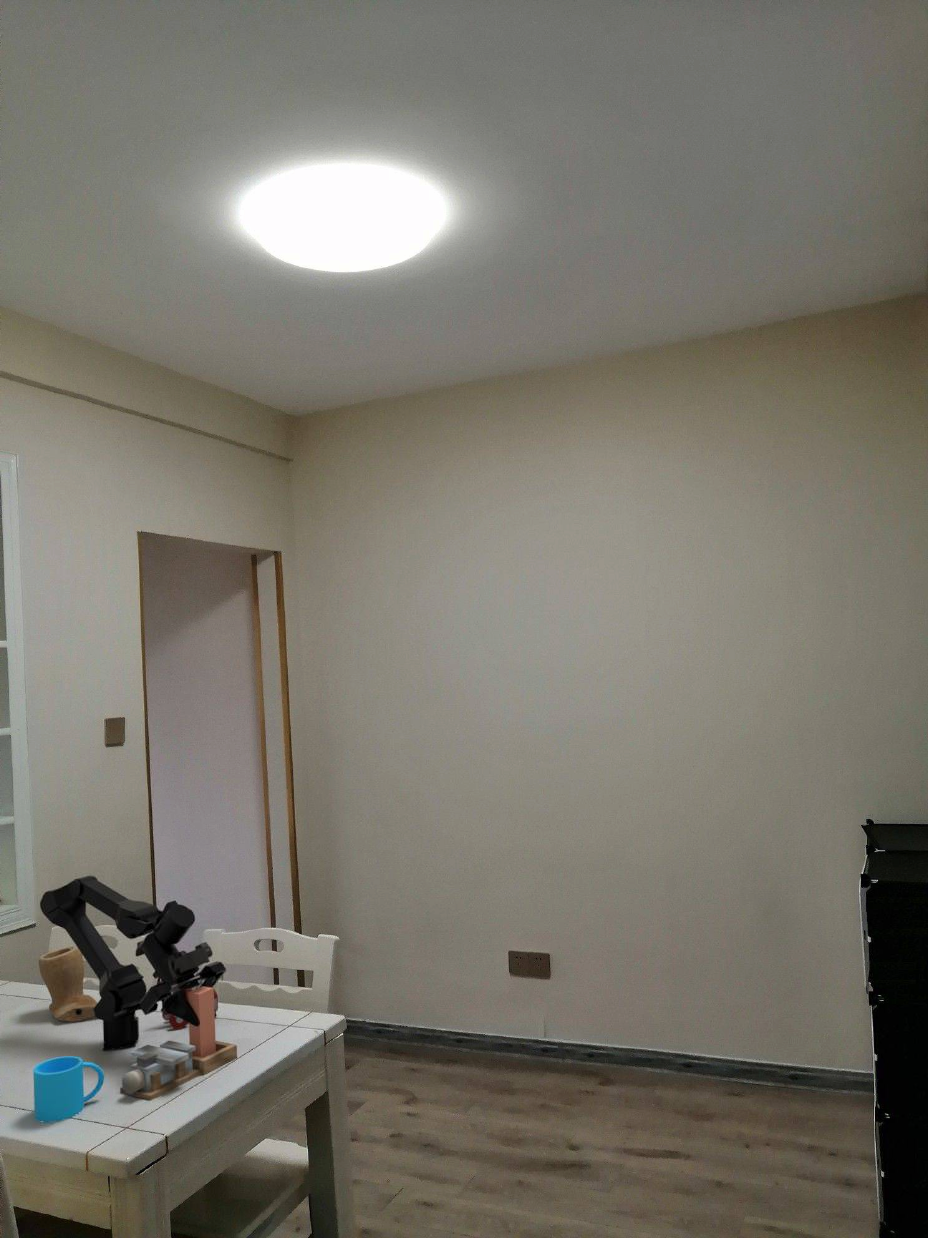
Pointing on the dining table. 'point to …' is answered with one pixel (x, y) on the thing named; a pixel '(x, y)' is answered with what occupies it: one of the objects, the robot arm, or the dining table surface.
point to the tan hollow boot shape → (66, 984)
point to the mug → (61, 1088)
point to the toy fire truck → (178, 1022)
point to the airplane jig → (170, 1067)
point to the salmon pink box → (203, 1021)
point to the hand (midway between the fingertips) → (206, 1021)
